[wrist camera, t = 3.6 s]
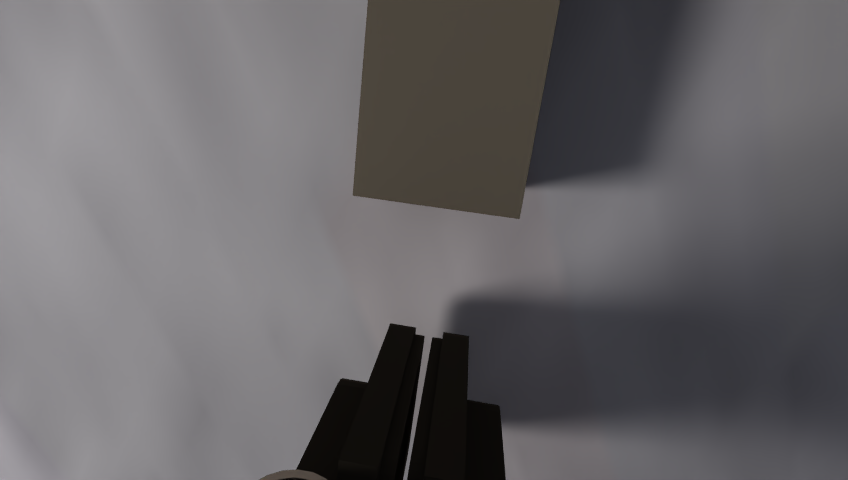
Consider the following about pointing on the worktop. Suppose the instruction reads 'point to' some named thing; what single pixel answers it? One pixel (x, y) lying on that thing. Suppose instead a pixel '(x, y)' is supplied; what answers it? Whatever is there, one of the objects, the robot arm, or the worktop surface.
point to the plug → (452, 101)
